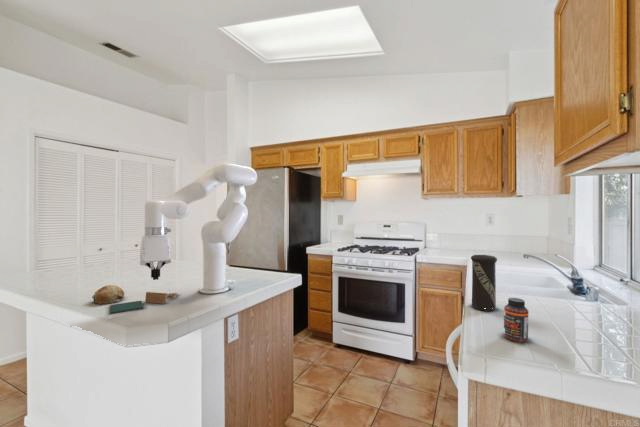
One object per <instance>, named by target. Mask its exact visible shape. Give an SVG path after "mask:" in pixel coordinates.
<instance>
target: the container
mask: <svg viewBox="0 0 640 427" xmlns="http://www.w3.org/2000/svg"><path fill="white" fill-rule="evenodd" d="M470 259H471V264H472V266H471V270H472V273H471V282H472V283H471V307H472V308H473V309H475V310H479V311H483V312H484V311H485V312H493V311H496V309H497V292H496V291H497V290H496V289H497V288H496V287H497V285H496V284H497V283H496V282H497V280H496V263H497V261H498V257H496V256H495V255H488V254H473V255H471V256H470ZM484 308H486V309H484ZM492 308H493V309H492Z"/></svg>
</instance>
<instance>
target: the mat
mask: <svg viewBox="0 0 640 427" xmlns="http://www.w3.org/2000/svg"><path fill="white" fill-rule="evenodd" d="M143 309H144V305H143V302H142V300H136V301H129V302H122V303H116V304H115V303H114V304H110V311H109V312H110V315H112V314H119V313H125V312H131V311H138V310H143Z"/></svg>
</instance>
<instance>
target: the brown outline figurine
mask: <svg viewBox="0 0 640 427" xmlns="http://www.w3.org/2000/svg"><path fill="white" fill-rule="evenodd" d="M177 296H178V293H177V292H172V293H171V292H170V293H167V292H154V291H146V292H145V298H144V300H145V303H149V304H163V305H164V304H166V303H167V298H176V297H177Z"/></svg>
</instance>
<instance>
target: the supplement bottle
mask: <svg viewBox="0 0 640 427" xmlns="http://www.w3.org/2000/svg"><path fill="white" fill-rule="evenodd" d="M525 306H526V301H525V300H524V299H522V298H519V297H508V300H507V304H505V306H504V307H503V337H504V338H506V339H507V340H509V341H512V342H516V343H525V342H528V340H529V309H528V308H527V307H525Z"/></svg>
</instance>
